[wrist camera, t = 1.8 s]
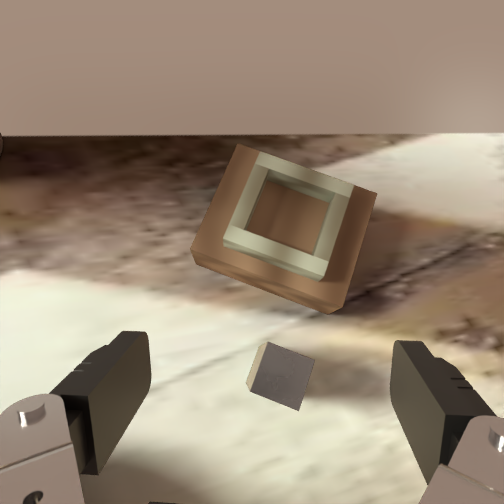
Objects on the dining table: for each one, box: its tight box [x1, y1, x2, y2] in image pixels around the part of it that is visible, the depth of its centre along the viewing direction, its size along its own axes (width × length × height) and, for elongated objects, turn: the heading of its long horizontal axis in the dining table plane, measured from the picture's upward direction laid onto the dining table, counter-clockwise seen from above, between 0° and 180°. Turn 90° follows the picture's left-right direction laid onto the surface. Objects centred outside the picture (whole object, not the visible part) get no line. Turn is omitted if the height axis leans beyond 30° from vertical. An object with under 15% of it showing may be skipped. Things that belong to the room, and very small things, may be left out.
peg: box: [246, 342, 315, 411], centre depth 34 cm, size 4×4×11 cm
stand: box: [190, 144, 377, 315], centre depth 39 cm, size 16×13×8 cm
